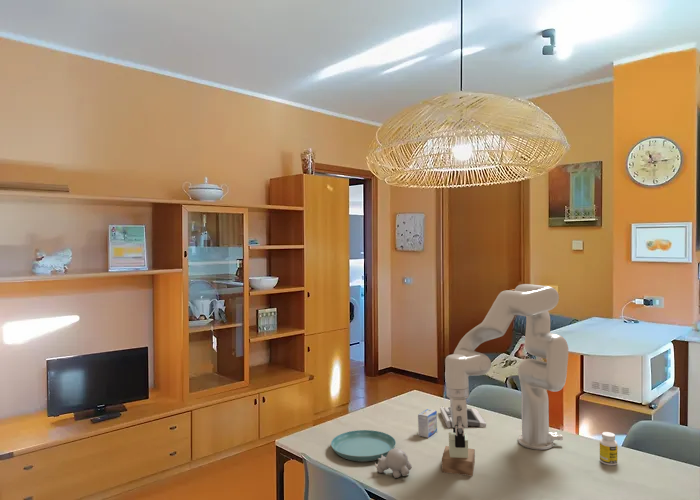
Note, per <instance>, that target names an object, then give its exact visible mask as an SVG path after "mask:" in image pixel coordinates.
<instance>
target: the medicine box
mask: <svg viewBox="0 0 700 500" xmlns="http://www.w3.org/2000/svg"><path fill="white" fill-rule="evenodd" d="M417 427H418V429H417V430H418V436H420V437H422V438H423V437H424V438H428V439H429V438H430V437H432V435H434V434H436V433H437V432H438V413H437V410H435V409H431V408H427V409H425V410H423V411H422V412H420V413H419V414H417ZM435 432H436V433H435Z"/></svg>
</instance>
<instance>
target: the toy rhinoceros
mask: <svg viewBox="0 0 700 500" xmlns="http://www.w3.org/2000/svg"><path fill="white" fill-rule="evenodd" d="M408 459H409V458H408V455H407V452H406V451H404V450H403V449H402V448H398V447H394V449H391V450H390V451H389V452H388V454H387V456H385V457H384V456H383V455H382V454H381V458H378V460H377V461H378V463H376V462H374V465H375V468H376V471H377V472H378V473H379V474H383V473H384V472H385V471H386V470H387V471H388V470H389V469H390V470H391V471H392V475H393V478H394V479H398V478H400V477H402V476H403V477H405V476H408V475H409V474H410V470H412V468H413V466H412V464H411V462H410V461H409V460H408Z"/></svg>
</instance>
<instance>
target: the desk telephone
mask: <svg viewBox="0 0 700 500" xmlns="http://www.w3.org/2000/svg"><path fill="white" fill-rule="evenodd" d="M439 410H440V414H441V417H442V418H443V421H444V423H445V426H446V427H447V428H448V429H451V428H453V423H452V418H451V408H450V407H447V406H445V407H444V406H440V407H439ZM467 422H468V426H469V427H479V428H486V427H487V422H486V420H485V419H484V417H483V416H482V415H481V414H480V412H479V411H478V410H477V409H476V408H473V407H471V408H468V407H467Z"/></svg>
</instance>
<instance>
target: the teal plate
mask: <svg viewBox="0 0 700 500" xmlns="http://www.w3.org/2000/svg"><path fill="white" fill-rule="evenodd" d="M330 445H331V448H332V450H333V451H334V452H335V454H336V455H338V456H339V457H341V458H343V459H346V460H348V461H353V462H361V463H362V462H366V463H367V462H373V461H379V460H378V458H381V454H382V455H383V456H384V457H386V456H387V454H388V452H389V451H390V450H391V449H394V448H396V445H397V441H396V439H395V437H393V436H392V435H390V434H388V433H386V432H382V431H378V430H370V429H368V430H367V429H358V430H351V431H347V432H343V433H340V434H338V435H336V436H335V437H333V438H332V440H331V442H330Z"/></svg>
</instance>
